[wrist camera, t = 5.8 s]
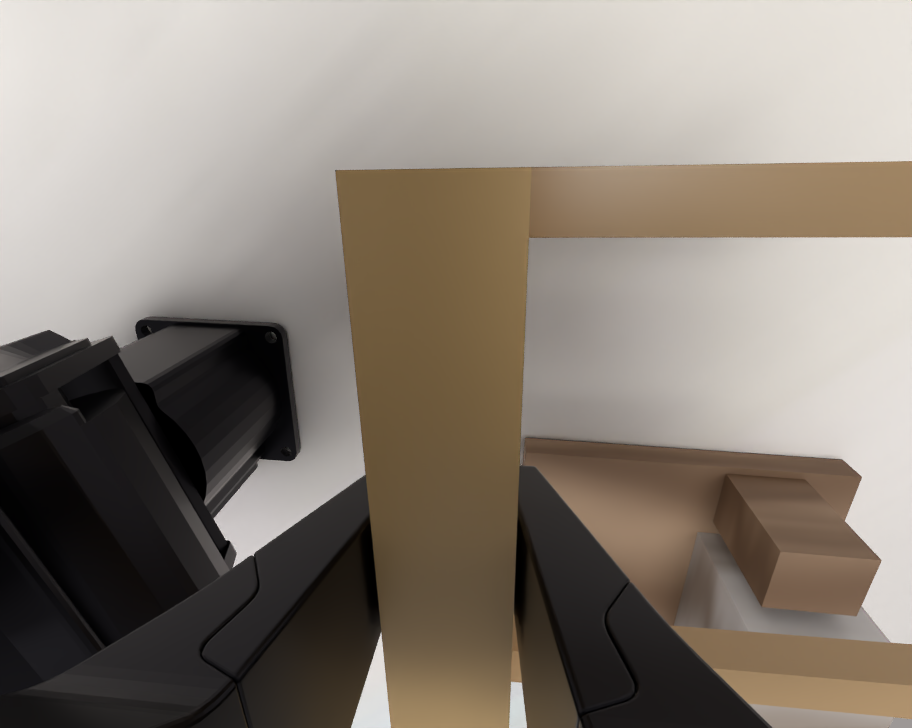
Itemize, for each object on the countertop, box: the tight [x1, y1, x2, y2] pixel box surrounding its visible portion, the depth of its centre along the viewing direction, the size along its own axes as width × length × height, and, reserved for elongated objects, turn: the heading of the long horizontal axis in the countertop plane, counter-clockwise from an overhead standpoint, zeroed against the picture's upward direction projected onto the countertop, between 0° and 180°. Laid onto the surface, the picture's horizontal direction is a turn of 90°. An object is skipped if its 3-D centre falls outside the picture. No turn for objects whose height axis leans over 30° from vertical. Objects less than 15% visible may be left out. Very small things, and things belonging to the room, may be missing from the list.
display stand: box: [523, 438, 894, 728], centre depth 20 cm, size 13×13×7 cm
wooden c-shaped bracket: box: [335, 161, 912, 728], centre depth 8 cm, size 11×11×4 cm
